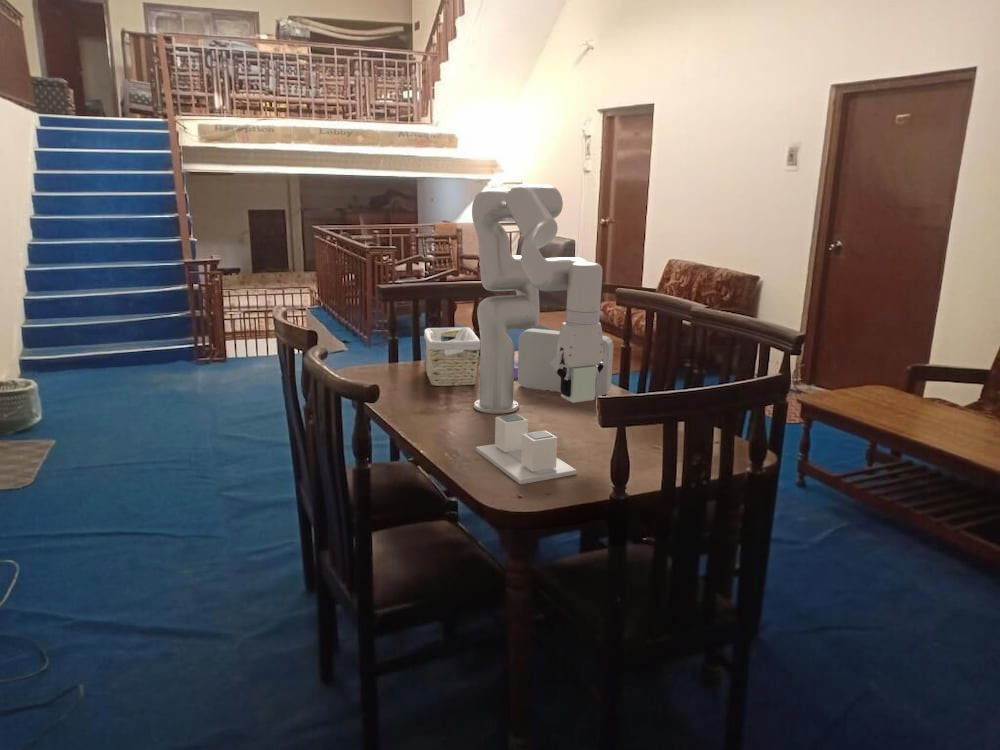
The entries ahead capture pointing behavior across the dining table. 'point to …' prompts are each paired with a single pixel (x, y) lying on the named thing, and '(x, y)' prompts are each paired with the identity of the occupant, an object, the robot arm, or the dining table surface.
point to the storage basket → (451, 356)
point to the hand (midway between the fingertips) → (577, 392)
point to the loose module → (582, 384)
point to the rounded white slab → (540, 352)
